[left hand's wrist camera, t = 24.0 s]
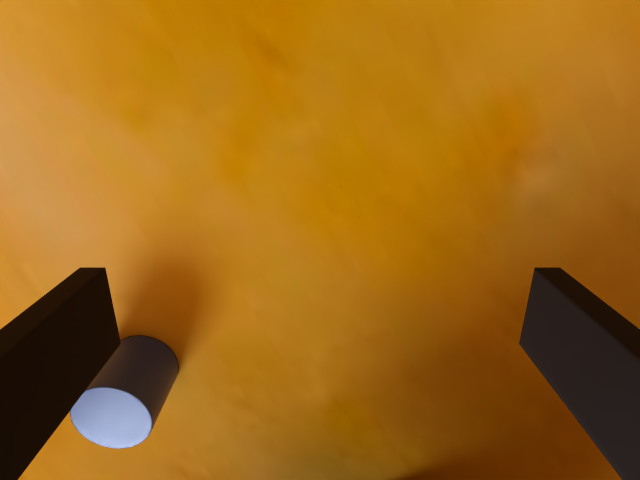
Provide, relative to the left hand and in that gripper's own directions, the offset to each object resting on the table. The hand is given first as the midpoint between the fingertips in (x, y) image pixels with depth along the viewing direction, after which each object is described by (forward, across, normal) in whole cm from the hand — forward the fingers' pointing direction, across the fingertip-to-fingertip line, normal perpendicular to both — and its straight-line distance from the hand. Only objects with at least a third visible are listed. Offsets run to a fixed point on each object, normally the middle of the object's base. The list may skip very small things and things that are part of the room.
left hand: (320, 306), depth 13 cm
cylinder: (+24, -18, -20) cm, 36 cm away
